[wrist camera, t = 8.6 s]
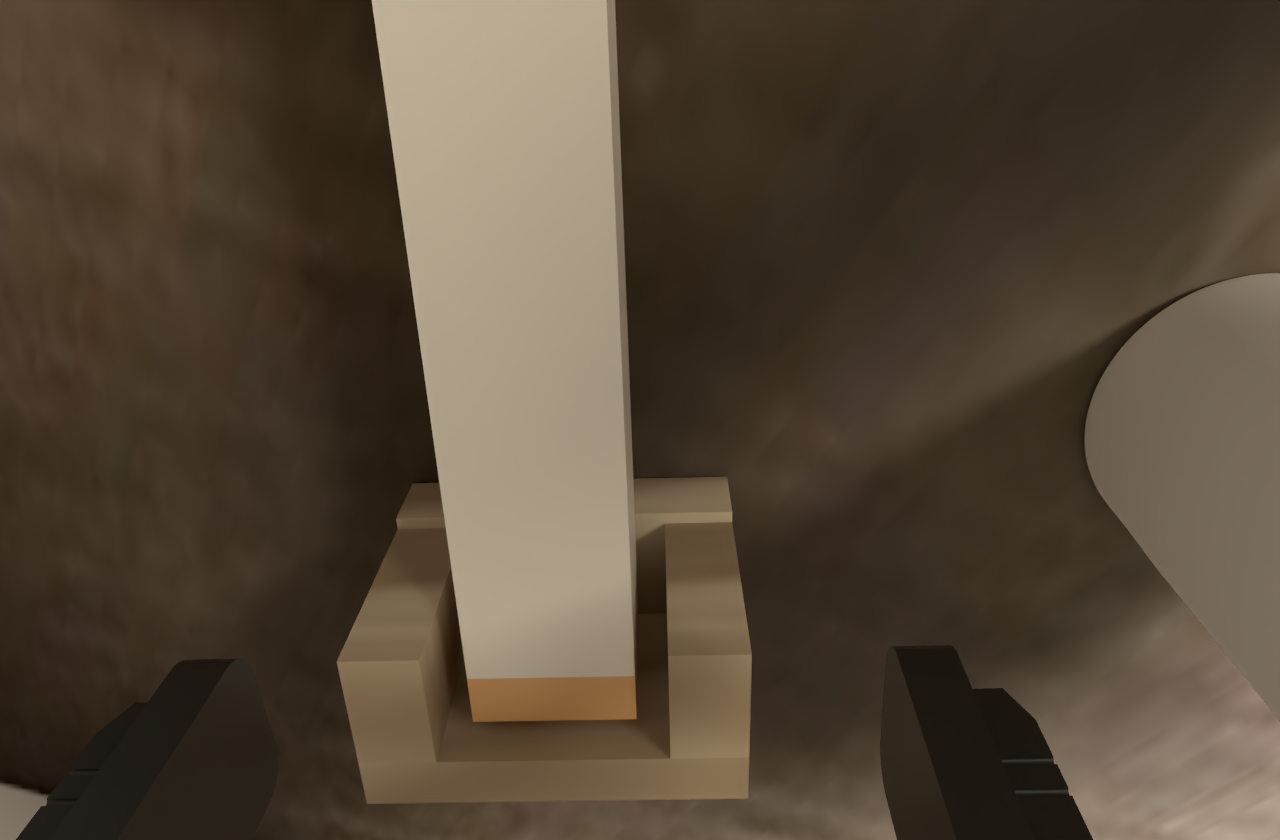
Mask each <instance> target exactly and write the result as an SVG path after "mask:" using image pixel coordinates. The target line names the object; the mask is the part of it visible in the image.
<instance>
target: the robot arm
mask: <svg viewBox="0 0 1280 840" xmlns="http://www.w3.org/2000/svg"><path fill="white" fill-rule="evenodd" d="M880 754H881V768H882V777H883V783H884V789H885V794H886V798H887V802H888V806H889V810H890V814H891V818H892V821H893V825H894V829H895V833H896V837H897V840H1093V838H1092V836H1091V834H1090V832H1089V830H1088V828H1087V826H1086V824H1085V822H1084V820H1083V818H1082V815H1081V813H1080V811H1079V809H1078V807H1077V805H1076V803H1075V801H1074V799H1073V797H1072V796H1069V793H1068V786H1067V784H1066V782H1065V780H1064V778H1063V776H1062V774H1061V772H1060V770H1059V768H1058V765H1057V764H1054V761H1053V755H1052V753H1051V751H1050V749H1049V747H1048V745H1047V743H1046V740H1045V738H1044V736H1043V734H1042V732H1041V730H1040V728H1039V726H1038V724H1037V722H1036V720H1035V719H1034V718H1033V717H1032V716H1031V715H1030V714H1029V713H1028V712H1027V711H1026V710H1025V709H1024V708H1023V707H1022V706H1020V705H1019V704H1018V703H1017V702H1016V701H1015V700H1014V699H1013V698H1012V697H1011V696H1010V695H1009V694H1008V693H1007V692H1006V691H1005V690H1004V689H1003V688H994V689H972V687H971V685H970V682H969V680H968V677H967V675H966V673H965V670H964V668H963V665H962V663H961V661H960V658H959V656H958V654H957V651H956V650H955V648H954V647H953V646H950V645H945V646H899V647H890V648H889V649H888V653H887V659H886V671H885V684H884V698H883V712H882V725H881V740H880ZM277 764H278V762H277V750H276V746H275V743H274V739H273V736H272V733H271V729H270V726H269V723H268V719H267V716H266V713H265V709H264V706H263V703H262V699H261V696H260V693H259V689H258V686H257V683H256V679H255V676H254V673H253V670H252V668H251V666H250V664H249V663H248V662H247V661H245V660H244V659H210V660H184V661H181V662H179V663H178V664H176V665H175V666H174V667H173V669H172V670H171V671H170V672H169V674H168V675H167V677H166V678H165V679H164V681H163V682H162V683H161V685H160V686H159V688H158V689H157V690H156V692H155V693H154V695H153V696H152V697H151V699H150V700H149V702H148V703H135V704H134V705H132V706H131V707H130V708H129V709H127V710H126V711H125V712H123V713H122V714H121V715H120V716H118V717H117V718H116V719H115V720H113V721H112V722H111V723H109V724H108V725H107V726H106V727H104V728H103V729H102V730H101V731H99V732H98V733H97V734H96V735H95V736H94V738H93V739H92V740H91V742H90V743H89V744H88V745H87V747H86V748H85V749H84V751H83V752H82V753H81V755H80V756H79V757H78V759H77V760H76V761H75V763H74V764H73V765H72V767H71V768H70V769H69V770H70V773H69V776H64V777H63V778H62V780H61V781H60V782H59V784H58V785H57V786H56V788H55V789H54V790H53V792H52V793H51V794H50V796H49V797H48V798H47V805H46V806H41V808H40V809H39V810H38V811H37V813H36V814H35V815H34V817H33V818H32V819H31V821H30V822H29V823H28V825H27V826H26V827H25V828H24V830H23V831H22V832H21V834H20V835H19V836H18V838H17V839H16V840H251V839H252V837H253V835H254V833H255V831H256V829H257V826H258V824H259V822H260V820H261V818H262V816H263V814H264V812H265V810H266V808H267V806H268V804H269V802H270V799H271V797H272V794H273V791H274V787H275V783H276V777H277Z"/></svg>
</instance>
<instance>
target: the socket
mask: <svg viewBox="0 0 1280 840" xmlns="http://www.w3.org/2000/svg"><path fill="white" fill-rule="evenodd" d="M633 483H634V509H635V535H636V561H637V587H638V613H639V627H638V678H637V719H620V720H556V721H492V722H473V719H472V711H471V704H470V697H469V690H468V683H467V676H466V669H465V662H464V655H463V647H462V640H461V633H460V626H459V619H458V612H457V605H456V598H455V590H454V583H453V576H452V569H451V562H450V555H449V548H448V541H447V534H446V526H445V519H444V512H443V505H442V498H441V491H440V484H439V483H413V484H412V486H411V488H410V490H409V492H408V494H407V496H406V499H405V501H404V503H403V505H402V507H401V509H400V511H399V513H398V516H397V518H396V522H397V528H398V529H397V532H396V534H395V536H394V538H393V540H392V542H391V545H390V547H389V549H388V551H387V553H386V555H385V558H384V560H383V562H382V564H381V566H380V569H379V571H378V573H377V575H376V577H375V579H374V582H373V584H372V586H371V588H370V590H369V592H368V595H367V597H366V599H365V601H364V603H363V605H362V608H361V610H360V612H359V614H358V616H357V618H356V621H355V623H354V625H353V627H352V629H351V632H350V634H349V636H348V638H347V640H346V642H345V645H344V647H343V649H342V651H341V653H340V655H339V658H338V660H337V666H338V671H339V675H340V680H341V685H342V689H343V694H344V699H345V703H346V708H347V713H348V717H349V722H350V727H351V731H352V736H353V741H354V745H355V750H356V755H357V759H358V764H359V769H360V773H361V778H362V782H363V787H364V792H365V796H366V801H367V804H389V803H462V802H534V801H607V800H680V799H748V787H749V748H750V710H751V672H752V652H751V645H750V638H749V631H748V625H747V618H746V611H745V605H744V598H743V591H742V584H741V578H740V571H739V564H738V558H737V551H736V544H735V537H734V531H733V524H732V506H731V500H730V493H729V486H728V480H727V477H688V478H641V479H633Z"/></svg>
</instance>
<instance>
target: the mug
mask: <svg viewBox="0 0 1280 840" xmlns="http://www.w3.org/2000/svg"><path fill="white" fill-rule="evenodd" d="M1084 443H1085V454H1086V460H1087V464H1088V468H1089V471H1090V474H1091V477H1092V480H1093V482H1094V484H1095V486H1096V488H1097V490H1098V491H1099V493H1100V495H1101V496H1102V498H1103V499H1104V500H1105V502H1106V503H1107V504H1108V506H1109V507H1110V508H1111V510H1112V511H1113V512H1114V513H1115V515H1116V516H1117V517H1118V518H1119V520H1120V521H1121V522H1122V523H1123V525H1124V526H1125V527H1126V528H1127V530H1128V531H1129V532H1130V534H1131V535H1132V536H1133V537H1134V539H1135V540H1136V541H1137V543H1138V544H1139V545H1140V547H1141V548H1142V550H1143V551H1144V552H1145V554H1146V555H1147V556H1148V558H1149V559H1150V560H1151V562H1152V563H1153V564H1154V566H1155V567H1156V568H1157V570H1158V571H1159V572H1160V573H1161V575H1162V576H1163V577H1164V578H1165V580H1166V581H1167V582H1168V583H1169V585H1170V586H1171V587H1172V588H1173V589H1174V591H1175V592H1176V593H1177V594H1178V596H1179V597H1180V598H1181V599H1182V600H1183V602H1184V603H1185V604H1186V605H1187V607H1188V608H1189V609H1190V610H1191V611H1192V613H1193V614H1194V615H1195V616H1196V618H1197V619H1198V620H1199V621H1200V623H1201V624H1202V625H1203V626H1204V627H1205V629H1206V630H1207V631H1208V632H1209V634H1210V635H1211V636H1212V637H1213V639H1214V640H1215V641H1216V642H1217V643H1218V645H1219V646H1220V647H1221V648H1222V650H1223V651H1224V652H1225V653H1226V655H1227V656H1228V657H1229V658H1230V660H1231V661H1232V662H1233V663H1234V665H1235V666H1236V667H1237V668H1238V670H1239V671H1240V672H1241V673H1242V675H1243V676H1244V677H1245V678H1246V679H1247V681H1248V682H1249V683H1250V684H1251V686H1252V687H1253V688H1254V689H1255V691H1256V692H1257V693H1258V694H1259V696H1260V697H1261V698H1262V699H1263V701H1264V702H1265V703H1266V704H1267V706H1268V707H1269V708H1270V709H1271V711H1272V712H1273V713H1274V714H1275V716H1276V717H1277V718H1278V719H1279V721H1280V273H1268V274H1255V275H1248V276H1243V277H1238V278H1233V279H1229V280H1226V281H1222V282H1219V283H1216V284H1213V285H1210V286H1208V287H1205V288H1203V289H1200V290H1198V291H1196V292H1194V293H1192V294H1190V295H1188V296H1186V297H1184V298H1182V299H1180V300H1178V301H1177V302H1175V303H1173V304H1172V305H1170V306H1168V307H1167V308H1165V309H1164V310H1162V311H1161V312H1160V313H1158V314H1157V315H1156V316H1154V317H1153V318H1152V319H1150V320H1149V321H1148V322H1147V323H1146V324H1144V325H1143V326H1142V327H1141V328H1140V329H1139V330H1138V331H1137V332H1136V333H1135V334H1134V335H1133V336H1132V337H1131V338H1130V339H1129V340H1128V341H1127V342H1126V343H1125V344H1124V345H1123V346H1122V348H1121V349H1120V350H1119V351H1118V353H1117V354H1116V355H1115V357H1114V358H1113V359H1112V361H1111V362H1110V364H1109V365H1108V367H1107V368H1106V370H1105V372H1104V373H1103V375H1102V377H1101V379H1100V381H1099V383H1098V385H1097V387H1096V389H1095V392H1094V394H1093V397H1092V400H1091V403H1090V406H1089V409H1088V414H1087V418H1086V424H1085V436H1084Z"/></svg>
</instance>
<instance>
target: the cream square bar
mask: <svg viewBox="0 0 1280 840" xmlns="http://www.w3.org/2000/svg"><path fill="white" fill-rule="evenodd" d="M372 7H373V14H374V21H375V28H376V35H377V42H378V50H379V57H380V64H381V71H382V78H383V85H384V92H385V99H386V107H387V114H388V121H389V128H390V135H391V142H392V149H393V156H394V163H395V171H396V178H397V185H398V192H399V199H400V206H401V213H402V220H403V228H404V235H405V242H406V249H407V256H408V263H409V270H410V277H411V284H412V292H413V299H414V306H415V313H416V320H417V327H418V334H419V341H420V349H421V356H422V363H423V370H424V377H425V384H426V391H427V398H428V405H429V413H430V420H431V427H432V434H433V441H434V448H435V455H436V462H437V469H438V477H439V484H440V491H441V498H442V505H443V512H444V519H445V526H446V534H447V541H448V548H449V555H450V562H451V569H452V576H453V583H454V590H455V598H456V605H457V612H458V619H459V626H460V633H461V640H462V647H463V655H464V662H465V669H466V676H467V683H468V690H469V697H470V704H471V711H472V719H473V722H492V721H556V720H620V719H637V678H638V627H639V613H638V587H637V561H636V535H635V509H634V483H633V457H632V431H631V405H630V379H629V353H628V327H627V301H626V275H625V249H624V223H623V197H622V171H621V145H620V119H619V93H618V67H617V41H616V15H615V0H372Z"/></svg>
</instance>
